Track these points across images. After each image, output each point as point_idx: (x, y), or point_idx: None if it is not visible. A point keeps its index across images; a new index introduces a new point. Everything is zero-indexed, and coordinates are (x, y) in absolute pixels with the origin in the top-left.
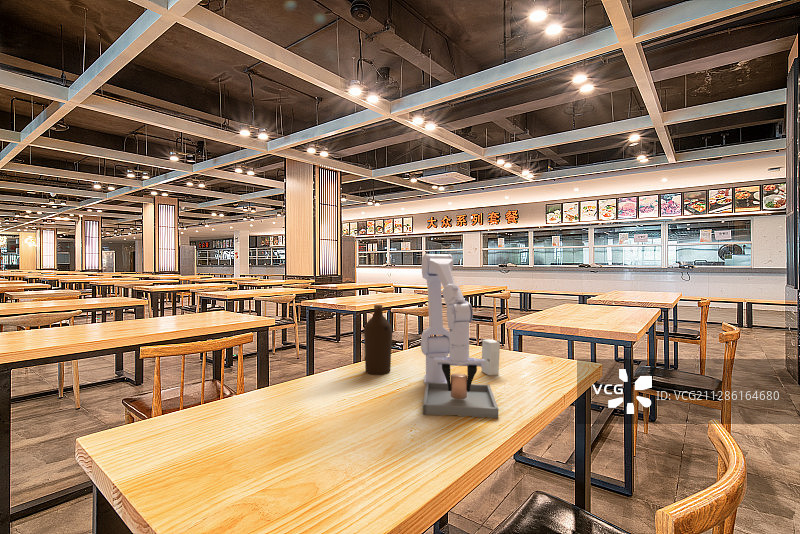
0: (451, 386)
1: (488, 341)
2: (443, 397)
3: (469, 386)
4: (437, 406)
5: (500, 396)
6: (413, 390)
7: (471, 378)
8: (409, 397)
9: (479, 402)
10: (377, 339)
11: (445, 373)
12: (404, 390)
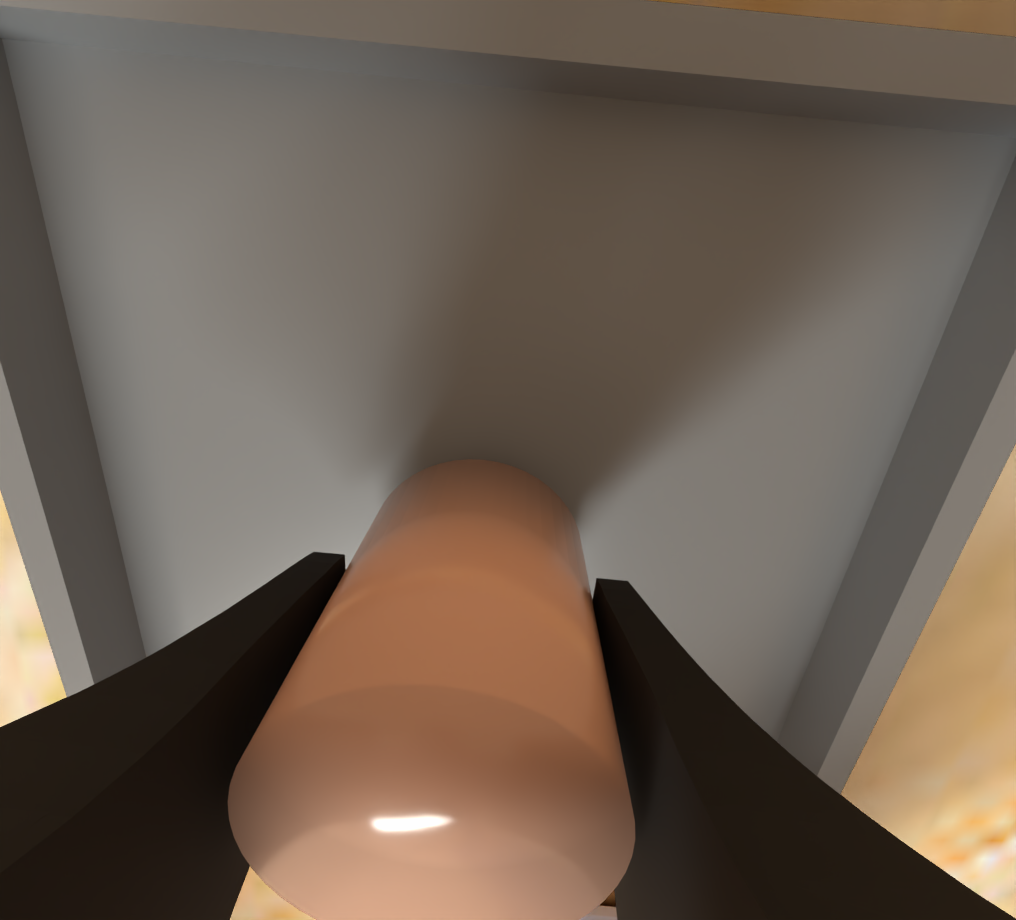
0: (596, 623)
1: None
2: (647, 600)
3: (271, 589)
4: (935, 37)
5: (53, 673)
6: (883, 797)
7: (114, 694)
8: (993, 647)
9: (238, 465)
10: None
11: (896, 867)
12: (974, 798)
